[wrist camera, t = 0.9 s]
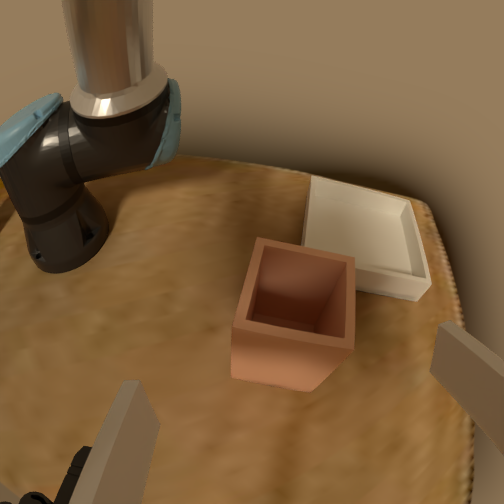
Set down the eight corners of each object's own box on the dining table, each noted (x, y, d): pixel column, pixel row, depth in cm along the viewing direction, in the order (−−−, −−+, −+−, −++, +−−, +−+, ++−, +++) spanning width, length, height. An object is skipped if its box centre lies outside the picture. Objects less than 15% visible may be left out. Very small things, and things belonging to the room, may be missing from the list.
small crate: (230, 377, 30) (231, 326, 20) (248, 310, 36) (257, 236, 26) (310, 392, 29) (354, 349, 19) (318, 324, 35) (354, 257, 25)
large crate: (296, 278, 39) (303, 257, 36) (306, 195, 52) (311, 175, 48) (416, 301, 38) (431, 284, 34) (400, 218, 50) (409, 200, 47)
